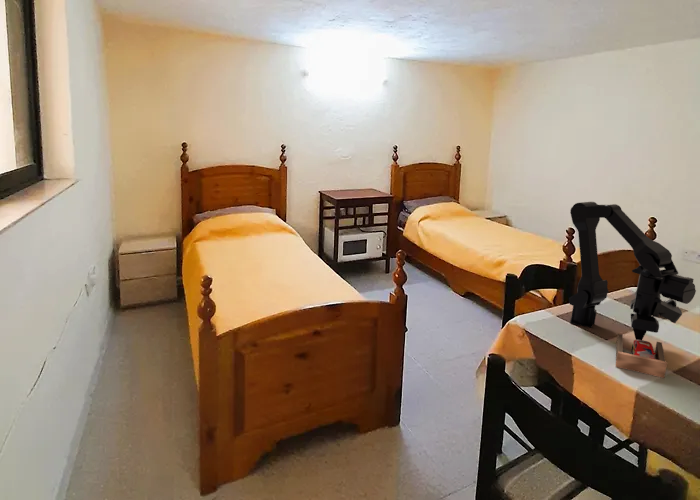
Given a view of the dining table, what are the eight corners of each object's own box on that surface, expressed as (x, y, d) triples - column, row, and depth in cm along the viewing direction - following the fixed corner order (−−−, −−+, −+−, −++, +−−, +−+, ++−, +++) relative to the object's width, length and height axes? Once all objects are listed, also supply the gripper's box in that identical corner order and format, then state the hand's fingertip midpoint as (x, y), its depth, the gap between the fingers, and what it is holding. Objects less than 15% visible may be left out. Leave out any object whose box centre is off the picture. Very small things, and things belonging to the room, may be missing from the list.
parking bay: (615, 366, 124) (618, 353, 123) (616, 342, 137) (618, 330, 136) (664, 377, 118) (667, 363, 117) (659, 352, 132) (662, 339, 131)
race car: (655, 371, 122) (658, 358, 121) (631, 366, 125) (634, 353, 123) (652, 351, 133) (655, 338, 132) (630, 346, 136) (633, 334, 135)
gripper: (687, 308, 119) (674, 362, 123) (679, 286, 135) (668, 335, 139) (636, 299, 124) (626, 352, 128) (635, 280, 140) (626, 327, 144)
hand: (638, 341), depth 135 cm, fingers closed
